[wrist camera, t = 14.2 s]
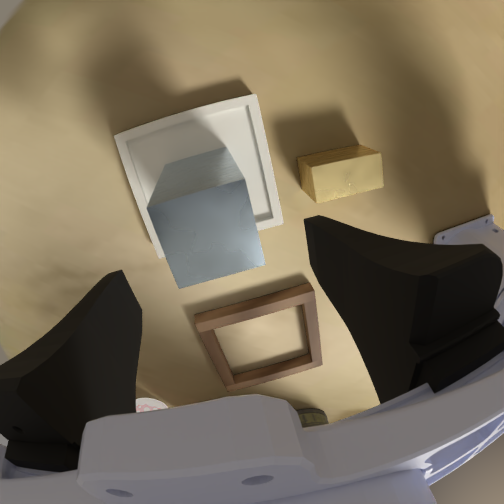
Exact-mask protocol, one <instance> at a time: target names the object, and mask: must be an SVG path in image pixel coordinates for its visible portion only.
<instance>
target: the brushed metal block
mask: <svg viewBox="0 0 504 504" xmlns="http://www.w3.org/2000/svg"><path fill="white" fill-rule="evenodd" d="M147 211H148V214H149V216H150V219H151V221H152V224H153V227H154V229H155V232H156V234H157V237H158V240H159V242H160V245H161V247H162V250H163V252H164V254H165V257H166V259H167V262H168V264H169V267H170V269H171V271H172V274H173V276H174V278H175V281H176V283H177V285H178V288H179V289H180V288H184V287H188V286H191V285H195V284H199V283H202V282H206V281H209V280H213V279H217V278H220V277H224V276H227V275H231V274H235V273H238V272H242V271H245V270H249V269H252V268H256V267H259V266H263V265H266V264H265V260H264V255H263V251H262V247H261V243H260V239H259V234H258V230H257V226H256V222H255V218H254V214H253V209H252V205H251V201H250V197H249V193H248V189H247V185H246V180H245V178H244V176H243V174H242V173H241V171H240V169H239V167H238V166H237V164H236V162H235V160H234V159H233V157H232V155H231V154H230V152H229V150H228V149H227V147H223V148H219V149H216V150H212V151H209V152H205V153H202V154H198V155H195V156H191V157H188V158H185V159H181V160H178V161H175V162H172V163H168V164H165V166H164V168H163V171H162V173H161V175H160V177H159V179H158V182H157V184H156V186H155V189H154V191H153V193H152V196H151V198H150V200H149V203H148V205H147Z"/></svg>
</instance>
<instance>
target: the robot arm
mask: <svg viewBox="0 0 504 504" xmlns="http://www.w3.org/2000/svg"><path fill="white" fill-rule="evenodd" d="M493 222H494V216H493V215H492V214H489V215H487V216H484V217H481V218H478V219H476V220H473V221H470V222H467V223H465V224H462V225H459V226H456V227H453V228H451V229H448V230H445V231H442V232H439V233H437V234H436V235H435V237H434V244H426V243H418V242H410V241H404V240H399V239H394V238H389V237H385V236H381V235H377V234H374V233H371V232H367V231H364V230H361V229H358V228H355V227H352V226H349V225H347V224H344V223H341V222H339V221H336V220H333V219H330V218H327V217H324V216H320V215H318V216H314V217H310V218H306V219H304V225H305V231H306V238H307V245H308V252H309V260H310V265H311V267H312V270H313V272H314V274H315V276H316V278H317V280H318V282H319V284H320V286H321V287H322V289H323V290H324V292H325V293H326V295H327V296H328V298H329V300H330V301H331V303H332V304H333V306H334V307H335V309H336V310H337V312H338V313H339V315H340V316H341V318H342V319H343V321H344V322H345V324H346V326H347V327H348V329H349V331H350V333H351V335H352V337H353V339H354V341H355V343H356V345H357V347H358V350H359V352H360V354H361V356H362V359H363V361H364V363H365V365H366V368H367V370H368V372H369V375H370V377H371V380H372V382H373V385H374V387H375V390H376V393H377V395H378V398H379V401H380V405H378V406H376V407H373V408H371V409H368V410H366V411H363V412H361V413H358V414H356V415H353V416H350V417H348V418H345V419H342V420H339V421H336V422H334V423H330V424H325V425H319V426H313V427H306V428H302V425H301V422H300V419H299V416H298V413H297V411H296V410H295V409H294V408H293V407H292V406H291V405H290V404H289V403H288V402H287V401H286V400H283V399H279V398H275V397H270V396H265V395H260V394H250V395H239V396H228V397H223V398H218V399H214V400H209V401H204V402H199V403H194V404H188V405H183V406H177V407H171V408H165V409H158V410H151V411H144V412H136V374H137V366H138V358H139V351H140V343H141V336H142V309H141V307H140V305H139V303H138V301H137V299H136V297H135V295H134V293H133V291H132V289H131V287H130V285H129V283H128V281H127V279H126V277H125V275H124V273H123V271H122V270H119V271H115V272H112V273H109V274H107V275H106V276H105V277H103V278H102V279H101V280H100V281H99V282H98V283H97V284H96V285H95V286H94V287H93V288H92V289H91V290H90V291H89V292H88V293H87V294H86V295H85V296H84V298H83V299H82V300H81V301H80V302H79V303H78V304H77V305H76V306H75V307H74V308H73V309H72V310H71V311H70V312H69V313H68V314H67V315H66V316H65V317H64V318H63V319H62V320H61V321H60V322H59V323H58V324H57V325H56V326H55V327H53V328H52V329H51V330H50V331H49V332H48V333H47V334H45V335H44V336H43V337H42V338H40V339H39V340H38V341H36V342H35V343H34V344H32V345H31V346H30V347H28V348H27V349H26V350H24V351H23V352H21V353H20V354H18V355H17V356H15V357H14V358H12V359H10V360H9V361H7V362H5V363H4V364H2V365H0V434H2V435H3V436H4V437H5V438H6V439H8V440H9V441H8V445H7V447H6V446H4V445H2V444H0V504H437V503H436V500H435V499H434V496H433V494H432V492H431V490H430V488H429V485H431V484H433V483H434V482H436V481H438V480H439V479H441V478H443V477H444V476H446V475H447V474H449V473H450V472H452V471H453V470H455V469H457V468H458V467H460V466H461V465H462V464H464V463H465V462H467V461H468V460H470V459H471V458H472V457H474V456H475V455H476V454H478V453H479V452H480V451H482V450H483V449H484V448H486V447H487V446H488V445H489V444H491V443H492V442H493V441H495V440H496V439H497V438H498V437H499V436H501V435H502V434H503V433H504V230H503V229H501V228H500V227H498V226H497V225H495V224H494V223H493ZM442 236H443V237H442Z"/></svg>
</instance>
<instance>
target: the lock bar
mask: <svg viewBox="0 0 504 504" xmlns="http://www.w3.org/2000/svg"><path fill="white" fill-rule="evenodd" d="M297 164H298V169H299V175H300V181H301V187H302V190H303V191H304V192H305V193H306V194H307V195H308V196H309V197H310V198H311V199H312V200H314V201H315V202H316V203H321V202H325V201H329V200H333V199H337V198H341V197H345V196H349V195H353V194H357V193H361V192H365V191H369V190H373V189H377V188H381V187H384V184H383V169H382V156H381V153H380V152H378V151H375V150H373V149H370V148H367V147H365V146H362V145H355V146H350V147H345V148H339V149H334V150H329V151H324V152H320V153H315V154H310V155H306V156H301V157H297Z"/></svg>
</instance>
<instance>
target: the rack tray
mask: <svg viewBox="0 0 504 504" xmlns="http://www.w3.org/2000/svg"><path fill="white" fill-rule="evenodd" d="M114 138H115V141H116V144H117V147H118V150H119V153H120V156H121V159H122V162H123V165H124V168H125V171H126V174H127V177H128V180H129V183H130V185H131V188H132V191H133V194H134V196H135V199H136V202H137V205H138V207H139V210H140V213H141V215H142V218H143V220H144V223H145V225H146V228H147V231H148V233H149V236H150V238H151V241H152V243H153V245H154V248H155V250H156V253H157V255H158V258H159V259H161V258H164V257H165V254H164V252H163V250H162V247H161V245H160V242H159V240H158V237H157V234H156V232H155V229H154V227H153V224H152V221H151V219H150V216H149V214H148V211H147V205H148V203H149V200H150V198H151V196H152V193H153V191H154V189H155V186H156V184H157V182H158V179H159V177H160V175H161V173H162V171H163V168H164V166H165V164H168V163H172V162H175V161H178V160H181V159H185V158H188V157H191V156H195V155H198V154H202V153H205V152H209V151H212V150H216V149H219V148H223V147H227V149H228V150H229V152H230V154H231V155H232V157H233V159H234V160H235V162H236V164H237V166H238V167H239V169H240V171H241V173H242V174H243V176H244V178H245V180H246V185H247V189H248V193H249V197H250V201H251V205H252V209H253V214H254V218H255V222H256V226H257V230H258V231H259V230H263V229H267V228H270V227H274V226H278V225H281V224H284V223H283V217H282V212H281V207H280V202H279V197H278V192H277V187H276V182H275V177H274V173H273V168H272V163H271V158H270V154H269V149H268V144H267V140H266V135H265V131H264V126H263V122H262V117H261V113H260V108H259V104H258V100H257V95H256V94H250V95H245V96H241V97H237V98H232V99H228V100H224V101H220V102H216V103H212V104H208V105H204V106H201V107H197V108H194V109H190V110H187V111H183V112H180V113H177V114H173V115H170V116H167V117H164V118H161V119H158V120H155V121H152V122H149V123H146V124H143V125H140V126H137V127H135V128H132V129H129V130H126V131H124V132H121V133H118V134H116V135H114Z"/></svg>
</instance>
